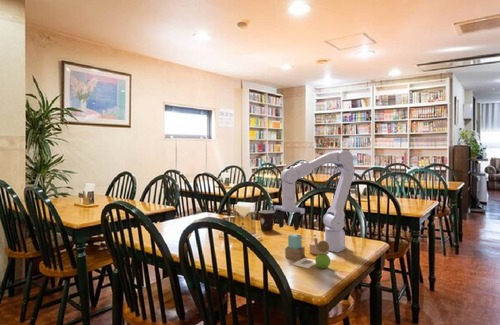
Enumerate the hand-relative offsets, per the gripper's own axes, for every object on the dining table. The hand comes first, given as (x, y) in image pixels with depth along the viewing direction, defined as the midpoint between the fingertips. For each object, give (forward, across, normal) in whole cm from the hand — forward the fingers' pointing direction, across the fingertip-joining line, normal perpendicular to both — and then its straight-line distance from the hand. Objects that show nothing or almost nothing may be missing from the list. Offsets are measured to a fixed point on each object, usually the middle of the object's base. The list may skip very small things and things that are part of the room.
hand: (288, 228), depth 147 cm
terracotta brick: (+10, +9, +7) cm, 15 cm away
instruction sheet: (+10, +13, -8) cm, 18 cm away
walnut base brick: (+11, +5, -3) cm, 12 cm away
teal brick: (+7, +5, -3) cm, 9 cm away
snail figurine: (+11, +20, -8) cm, 24 cm away
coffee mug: (+11, -30, +26) cm, 42 cm away
